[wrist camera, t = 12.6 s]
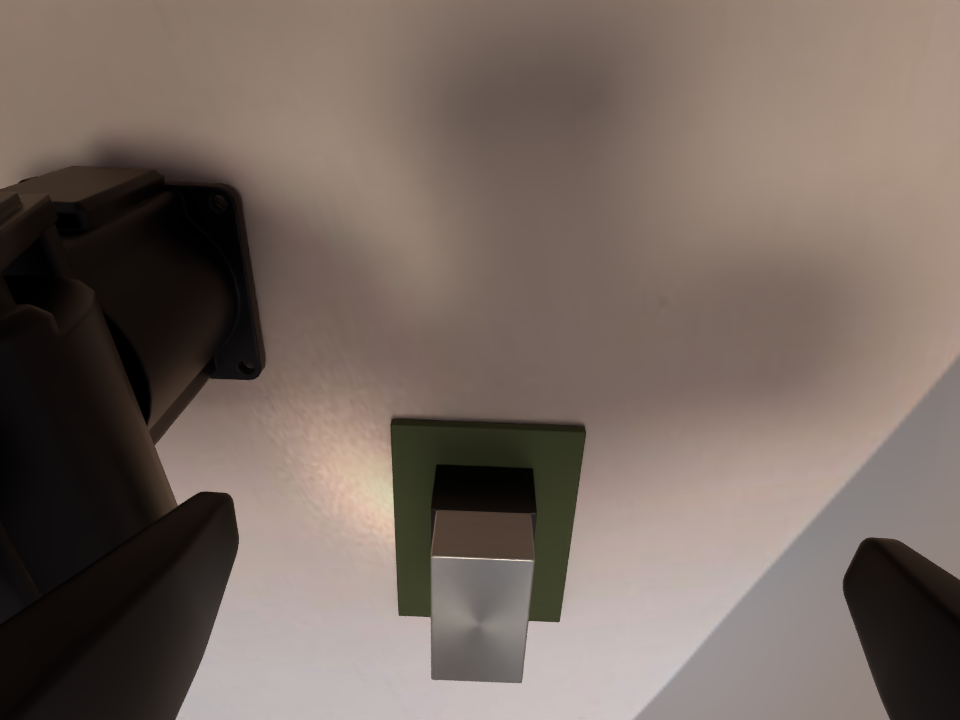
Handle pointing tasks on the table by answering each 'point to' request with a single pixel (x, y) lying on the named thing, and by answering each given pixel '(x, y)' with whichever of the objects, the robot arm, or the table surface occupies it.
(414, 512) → the mat
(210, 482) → the table surface
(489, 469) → the silver and black block
